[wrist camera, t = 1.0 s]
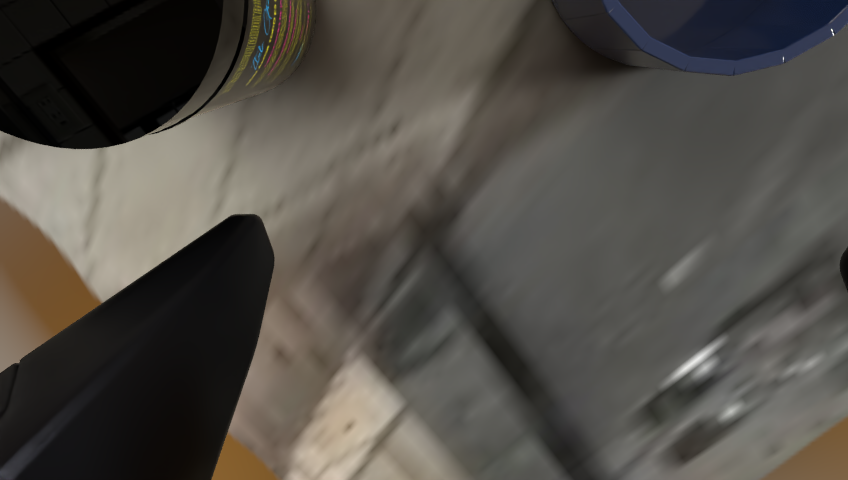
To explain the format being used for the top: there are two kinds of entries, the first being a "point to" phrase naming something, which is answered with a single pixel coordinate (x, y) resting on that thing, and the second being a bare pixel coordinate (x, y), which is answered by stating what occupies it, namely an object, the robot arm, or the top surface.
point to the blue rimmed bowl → (703, 31)
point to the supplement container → (139, 63)
